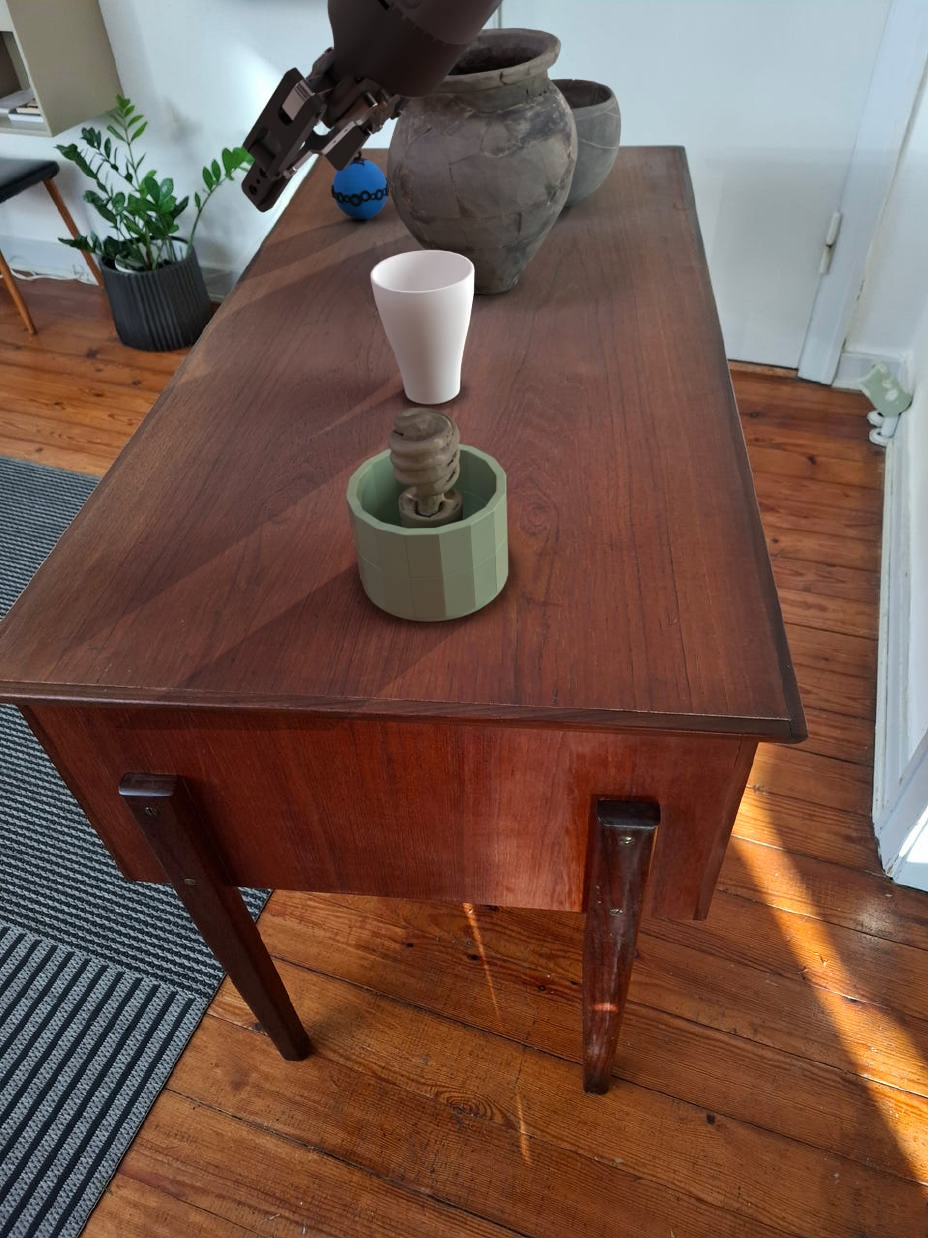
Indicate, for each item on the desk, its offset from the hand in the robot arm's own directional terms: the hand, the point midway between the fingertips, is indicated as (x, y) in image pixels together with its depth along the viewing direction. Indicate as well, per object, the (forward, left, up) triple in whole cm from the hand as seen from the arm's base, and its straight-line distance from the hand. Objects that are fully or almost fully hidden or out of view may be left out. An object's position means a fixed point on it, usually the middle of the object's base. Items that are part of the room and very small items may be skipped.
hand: (294, 178), depth 60 cm
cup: (+15, +21, -31) cm, 40 cm away
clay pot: (+31, +45, -31) cm, 63 cm away
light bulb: (+5, -8, -30) cm, 32 cm away
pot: (+5, -8, -30) cm, 32 cm away
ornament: (+23, +76, -31) cm, 85 cm away
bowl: (+51, +68, -31) cm, 91 cm away
